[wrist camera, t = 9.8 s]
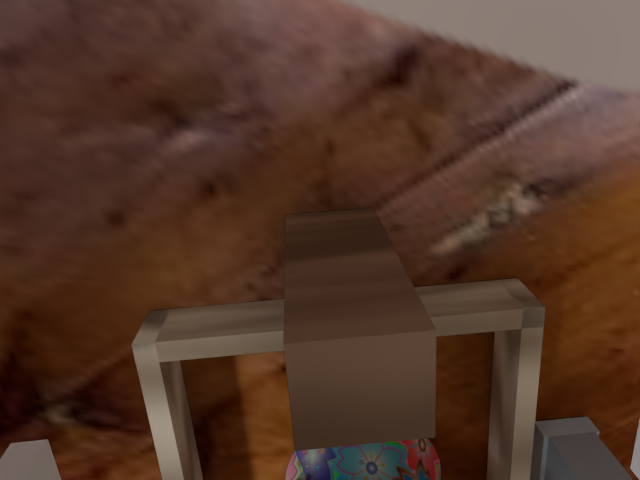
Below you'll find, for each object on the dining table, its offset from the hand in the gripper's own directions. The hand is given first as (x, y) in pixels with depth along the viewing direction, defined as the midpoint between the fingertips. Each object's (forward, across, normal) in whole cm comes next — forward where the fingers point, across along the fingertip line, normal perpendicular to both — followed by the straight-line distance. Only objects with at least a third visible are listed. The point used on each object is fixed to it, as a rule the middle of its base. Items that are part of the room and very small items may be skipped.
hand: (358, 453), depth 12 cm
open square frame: (+13, +1, -9) cm, 16 cm away
